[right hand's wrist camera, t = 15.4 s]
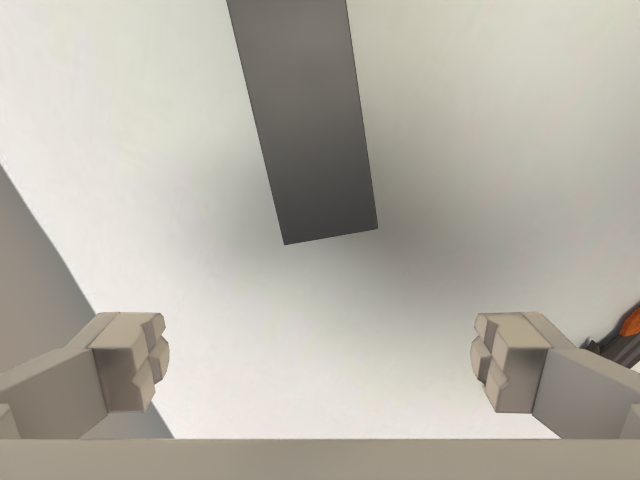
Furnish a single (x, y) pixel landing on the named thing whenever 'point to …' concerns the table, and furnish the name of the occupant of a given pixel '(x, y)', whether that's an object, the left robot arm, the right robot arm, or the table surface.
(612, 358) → the toy gun
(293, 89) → the box
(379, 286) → the table surface
